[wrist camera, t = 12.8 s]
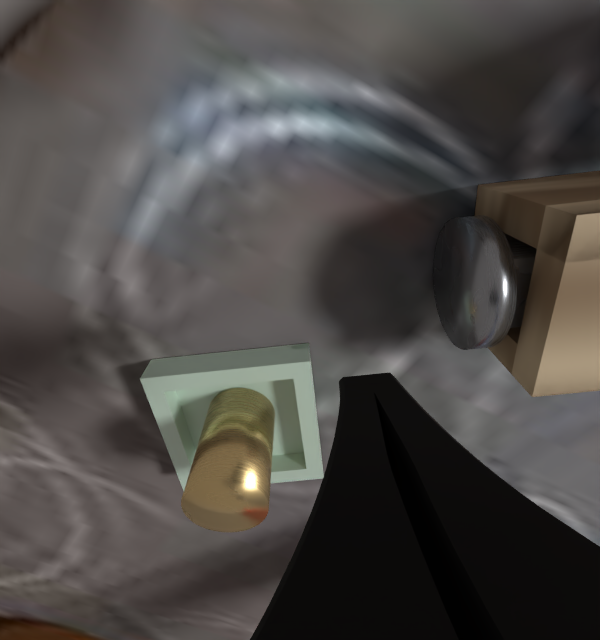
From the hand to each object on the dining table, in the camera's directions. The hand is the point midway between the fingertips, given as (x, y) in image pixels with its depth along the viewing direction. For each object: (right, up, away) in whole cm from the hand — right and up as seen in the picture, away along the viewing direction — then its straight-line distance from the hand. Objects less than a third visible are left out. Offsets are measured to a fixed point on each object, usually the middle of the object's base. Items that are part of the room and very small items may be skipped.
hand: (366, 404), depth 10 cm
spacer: (-5, -3, +12) cm, 14 cm away
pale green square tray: (-5, -3, +13) cm, 14 cm away
